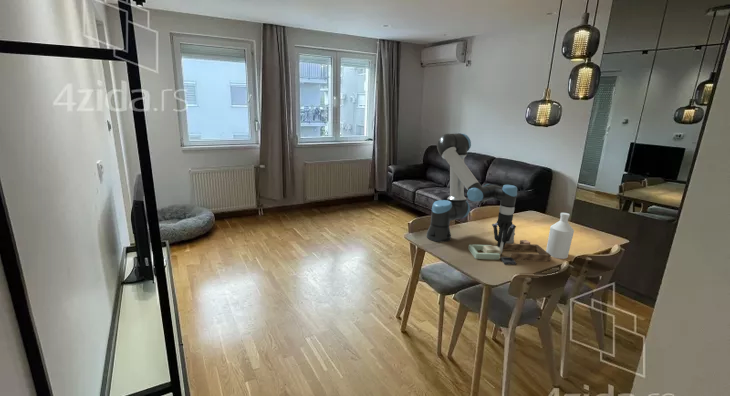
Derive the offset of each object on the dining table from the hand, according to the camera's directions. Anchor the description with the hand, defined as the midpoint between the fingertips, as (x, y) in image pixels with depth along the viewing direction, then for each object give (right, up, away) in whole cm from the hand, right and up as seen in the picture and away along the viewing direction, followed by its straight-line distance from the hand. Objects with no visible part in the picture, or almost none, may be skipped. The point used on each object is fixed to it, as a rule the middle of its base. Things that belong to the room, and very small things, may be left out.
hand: (499, 252), depth 198 cm
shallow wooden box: (+15, -2, +2) cm, 15 cm away
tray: (+1, -4, -8) cm, 9 cm away
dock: (-9, -1, 0) cm, 9 cm away
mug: (+10, +3, +17) cm, 20 cm away
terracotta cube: (+20, +1, +12) cm, 23 cm away
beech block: (-5, -1, 0) cm, 5 cm away
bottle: (+35, -2, +4) cm, 35 cm away
